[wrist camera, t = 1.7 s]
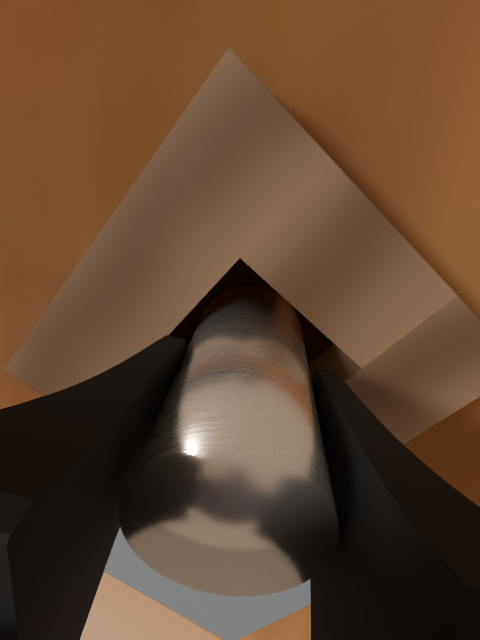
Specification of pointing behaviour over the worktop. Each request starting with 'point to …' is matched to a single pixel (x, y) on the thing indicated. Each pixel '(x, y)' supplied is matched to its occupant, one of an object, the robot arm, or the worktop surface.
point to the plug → (236, 459)
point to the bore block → (261, 263)
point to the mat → (205, 597)
